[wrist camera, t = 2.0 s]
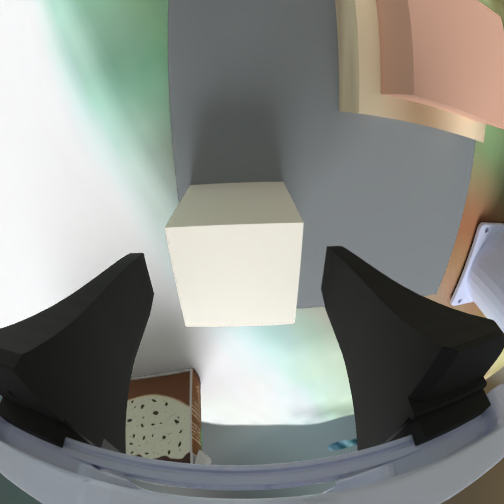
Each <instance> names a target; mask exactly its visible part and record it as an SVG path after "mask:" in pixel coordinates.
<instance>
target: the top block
mask: <svg viewBox="0 0 504 504" xmlns="http://www.w3.org/2000/svg"><path fill="white" fill-rule="evenodd" d="M303 225H304V222H303V220H302V218H301V216H300V214H299V212H298V210H297V208H296V206H295V204H294V202H293V200H292V198H291V196H290V194H289V192H288V190H287V188H286V186H285V184H284V182H241V183H218V184H200V185H190V187H189V188H188V190H187V191H186V193H185V195H184V196H183V198H182V200H181V201H180V203H179V204H178V206H177V208H176V209H175V211H174V213H173V214H172V216H171V218H170V220H169V221H168V223H167V225H166V226H165V232H166V238H167V243H168V249H169V254H170V259H171V264H172V269H173V274H174V278H175V283H176V288H177V292H178V297H179V301H180V305H181V309H182V313H183V318H184V322H185V326H186V327H230V326H262V325H282V324H295V315H296V306H297V296H298V286H299V275H300V264H301V252H302V239H303Z"/></svg>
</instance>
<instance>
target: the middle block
mask: <svg viewBox="0 0 504 504" xmlns="http://www.w3.org/2000/svg"><path fill="white" fill-rule="evenodd" d="M376 6H377V15H378V25H379V38H380V58H381V94H384V95H388V96H393V97H398V98H402V99H406V100H410V101H414V102H418V103H422V104H425V105H429V106H432V107H436V108H439V109H442V110H445V111H448V112H451V113H454V114H457V115H460V116H463V117H465V118H468V119H471V120H473V121H477V122H480V123H484V124H488V125H491V126H495V127H498V128H502V129H504V31H503V25H502V20H501V17H500V16H498V15H497V14H496V13H495V12H493V11H492V10H491V9H489V8H488V7H486V6H485V5H484V4H482V3H481V2H479V1H478V0H376Z"/></svg>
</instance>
